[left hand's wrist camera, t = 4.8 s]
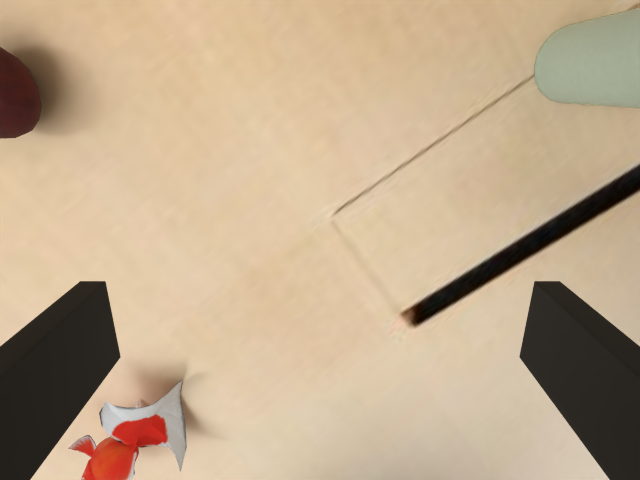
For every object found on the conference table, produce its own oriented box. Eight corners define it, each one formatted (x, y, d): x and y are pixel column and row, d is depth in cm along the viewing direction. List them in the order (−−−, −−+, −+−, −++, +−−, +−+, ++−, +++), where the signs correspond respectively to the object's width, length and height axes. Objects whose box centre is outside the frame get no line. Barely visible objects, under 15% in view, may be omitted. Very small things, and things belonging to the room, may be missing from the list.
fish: (26, 431, 44) (24, 512, 37) (151, 334, 48) (173, 391, 40) (96, 468, 51) (107, 545, 43) (202, 381, 54) (229, 437, 47)
